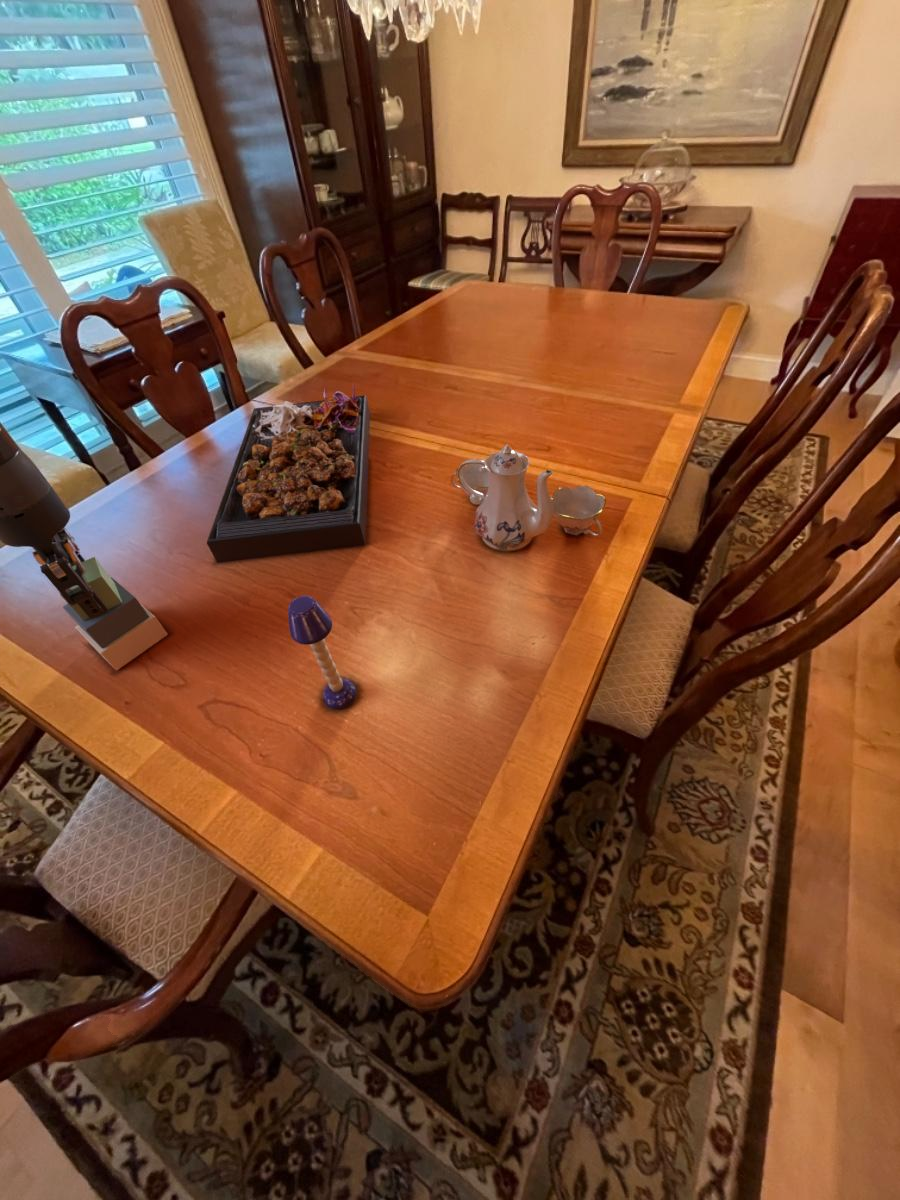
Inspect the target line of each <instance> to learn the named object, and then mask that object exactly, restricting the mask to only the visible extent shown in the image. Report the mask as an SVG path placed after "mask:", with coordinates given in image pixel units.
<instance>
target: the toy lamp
mask: <svg viewBox="0 0 900 1200" xmlns="http://www.w3.org/2000/svg"><path fill="white" fill-rule="evenodd" d="M287 617H288V628H289V635H290V637H291V638H292V640H293V641H294V642H295V643H297V644H299V645H303V646H305V645H306V646H310V649H311V650H312V651H313V656H314V657H315V659H316V661H317V664H318V666H319V668H320V670H321V673H322V675H324V679H325V681H326V682H327V683H328V684H326V686H325V687H324V690H323V694H322V698H323V703H324V704H325V706H326V707H328V708H329V709H331V710H343V709H345V708H347V707H349V706H350V705H351V704H352V703H354V701H355V700H356V697H357V687H356V686H355V684H354V683H353V682H352V681H350V680H349V679H346V678H342V677H341V675H340V672H339V670H337V665H336V663H335V662H334V660H333V656H332V655H331V653H330V650H329V647H328V646H327V644H326V638H327V637H328V635H329V634H330V633H331V632H332V628H333V620H332V618H331V616H330V615H329V613H328V612H327V611H326V610H325V609H324V608H323V607H322V606H321V604H320V603H319V602H318V601H317V600H316V599H315V598H314V597H312V596H310V595H301V596H298V597H295V598H294V599H292V601H290V603H289V604H288V607H287Z"/></svg>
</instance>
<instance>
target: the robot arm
mask: <svg viewBox="0 0 900 1200" xmlns="http://www.w3.org/2000/svg"><path fill="white" fill-rule="evenodd" d="M70 519H71V512H70V509H69V508H68V507H67V505H66V504H65V503H64V501H63V499H61V497H60V496H59V494H58V493H57V492H56V491H55V489H54V487H53V486H52V485H51V484H50V482H49V481H48V479H47V478H46V477H45V476H44V475H43V473H42V472H41V470H40V469H39V467H38V466H37V465H36V463H34V462H33V460H32V458H31V457H29V456H28V455H27V454H26V453H25V452H24V451H23V449H21V447H20V446H19V445H18V444H17V442H16V441H15V440H14V438H13V437H12V435H11V434H10V432H8V431H7V429H6V428H5V426H4V425H3V424H2V422H1V421H0V542H1V543H2V544H4V545H5V546H8V547H13V548H23V547H27V548H32V549H33V550H34V551H32V552H31V554H32V556H33V558H34V559H35V561H36V562H37V563H38V565H40V566H39V569H40V572H41V573H42V574H44V576H45V577H46V578H47V580H49V581H50V583H51V584H52V585H53V586H54V587H55V589H56V590H57V591H58V592H59V594H60V593H61V594H62V595H63V597H64V598H65V599H66V600H67V602H68V603H67V602H66V603H67V604H70V605H71V606H73V605H75V604H78V605H79V606H80V607H81V608H82V610H83V611H84V612H85V613H86V614H87V615H88V617H89V618H96V617H98V616H100V615H103V614H105V613H106V612H107V611H108V610H107V607H106V605H105V604H104V603H103V602H102V600H101V599H100V598H99V597H98V595H97V594H96V593H95V592H94V590H93V587H92V586H91V585H90V584H89V583H88V581H87V579H86V578H85V576H84V575H85V573H86V569H85V568H84V566H83V565H82V563H81V562H83V561H86V559H85V558H84V557H83V555H82V554H81V549H80V547H78V544H77V542H76V539H75V538H74V536H72V535H71V533H70V532H69V531H68V530H67V528H66V526H67V525H68V523H69V522H70ZM75 565H76V569H75V570H74V569H73V568H72V567H73V566H75ZM76 585H77V586H79V587H78V588H76V589H73V590H71V587H73V586H76ZM63 597H62V598H63Z"/></svg>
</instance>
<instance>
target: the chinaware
mask: <svg viewBox="0 0 900 1200" xmlns="http://www.w3.org/2000/svg"><path fill="white" fill-rule="evenodd" d="M529 466H530V459H529V457H528V456H527V455H526V454H525V453H523V452H519V451H517V450H513V448H512V447H510V445H509V444H506V445H504V446H503V447H502V448H501V450H499V451H497V452H493V453H491V454H490V455H488V457H486V458H485V459H484V458H476V459H474V458H470V459H466V460H465V461H463V462H462V463H461V464H460V465H459V467H456V472H454V473H453V474H452V475H451V477H450V481H451V484H452V485H453V486H454V487H455V488H457V489H462V490H463V492H464V493H465V494H466V495H467V496H468V497H469V501H470V502H471V504H473V505H476V506H477V505H478V507H476V508H477V509H476V510H475V514H474V515H475V519H474V520H475V521H474V524H473V530H474V532H475V533H476V534H477V535H478V536H479V537H481V540H482V542H483V544H484V545H485V546H487V547H489V548H490V549H491V550H494V551H497V552H505V553H507V552H508V553H510V552H516V551H519V550H522V549H524V548H526V547H527V546H529V545H530V543H532V541H533V539H534V537H537V536H540V535H542V534H544V533H545V532H546V531H547V530H548V529H549V527H550V526H551V524H552V522H553V520H554V518H555V520H556V521H557V523H558V524H559V525H560V526H561V527H562V528H563V531H564V533H566V534H570V535H572V536H573V535H574V536H578V535H580V534H582V533H583V535H587V534H590V535H592V536H593V537H600V536H601V535H602V532H603V525H602V523H601V521H600V520H599V519H598V517H599V516H600V515H601V513H602V511H603V510H604V508H605V506H606V502H607V499H606V497H605V496H604V495H602V494H599V493H597V492H596V491H595V490H594V489H593V488H592V487H590V486H588V485H577V486H574V487H572V488H571V487H566V486H562V487H558V488H557V489H556V490H555V491H554V492H553V494H552V496H551V493H550V490H549V486H548V479H549V478H550V477H551V476H552V475H553V474H554V471H553V470H552V469H546V470H543V471H542V472H541V473H539V475H538V477H537V479H536V499H537V504H536V503H535V502H534V501H533V500H532V498H531V497H530V495H529V492H528V490H527V486H526V475H527V471H528V468H529ZM455 475H456V478H457V482H458V483H459V485H458V484H456V483H455V481H454V476H455ZM595 523H596V524H597V526H598V533H597V534H596V533H595V532H593V531H592V530H591V529H590V528H589V527H590V526H592V525H593V524H595Z"/></svg>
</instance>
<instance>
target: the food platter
mask: <svg viewBox="0 0 900 1200" xmlns="http://www.w3.org/2000/svg"><path fill="white" fill-rule="evenodd" d="M355 389H356V388H355V382H353V383H352V395H350V396H349V395H346V394H345V393H344V392H342V391H339V390H335V392H334V393H333V394H332V397H330V398H328V396H327V389H326V387H323V398H324V399H323V400H314V401H306V402H296V403H293V402H290V401H288V400H285V401H284V403H283V402H282V403H281V404H273V405H272V406H271V405H270V406H264V407H255V408H253V410H252V413H251V416H250V418H249V422H248V425H247V428H246V430H245V433H244V435H243V438H242V441H241V444H240V447H239V450H238V453H237V456H236V458H235V461H234V464H233V467H232V469H231V472H230V475H229V478H228V480H227V483H226V486H225V489H224V492H223V495H222V498H221V500H220V503H219V506H218V509H217V512H216V514H215V518H214V520H213V523H212V526H211V529H210V531H209V534H208V537H207V540H206V544H207V546H208V548H209V550H210V552H211V554H212V555H213V558H214V560H215V562H216V563H224V562H232V561H233V562H234V561H242V560H251V559H258V558H259V559H260V558H266V557H276V556H285V555H294V554H301V553H310V552H317V551H318V552H319V551H325V550H327V551H328V550H336V549H343V548H351V547H352V548H353V547H362V546H366V536H367V535H366V534H367V510H368V509H367V508H368V507H367V506H368V485H369V484H368V483H369V480H368V479H369V457H370V456H369V455H370V453H369V451H370V430H371V429H370V426H371V425H370V424H371V412H370V408H369V401H368V396H367V395H357V396H356V393H355Z"/></svg>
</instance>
